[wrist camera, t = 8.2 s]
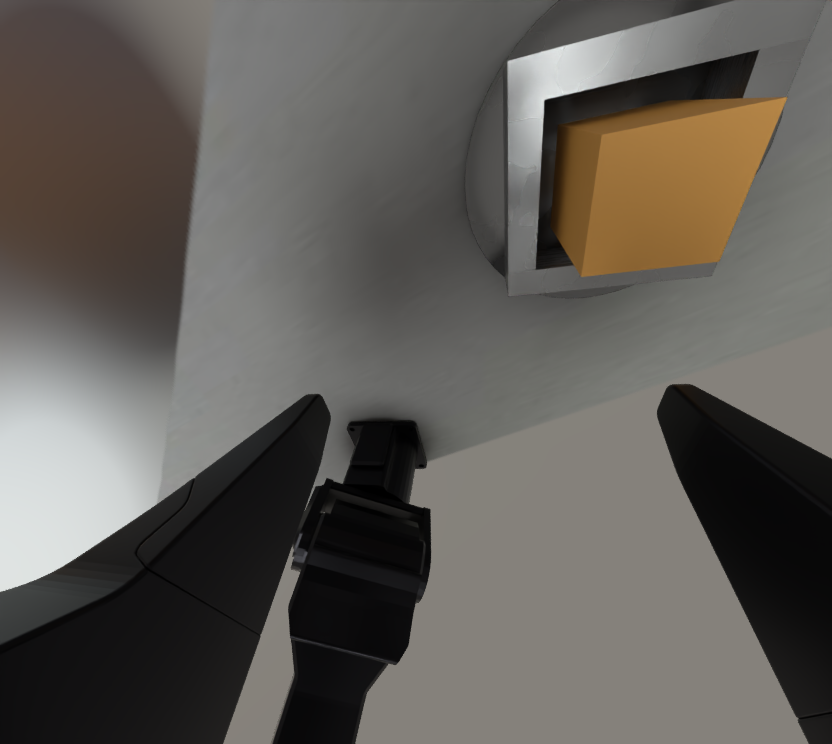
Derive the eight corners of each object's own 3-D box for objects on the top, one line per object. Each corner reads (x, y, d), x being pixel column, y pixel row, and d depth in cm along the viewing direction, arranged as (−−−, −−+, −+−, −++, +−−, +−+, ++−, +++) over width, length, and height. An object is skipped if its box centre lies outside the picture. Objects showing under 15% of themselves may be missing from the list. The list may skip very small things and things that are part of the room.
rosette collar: (703, 278, 17) (743, 309, 14) (474, 301, 19) (473, 330, 17) (857, -107, 9) (997, -185, 7) (451, 18, 12) (445, -5, 10)
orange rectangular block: (642, 213, 14) (718, 261, 10) (550, 226, 15) (581, 277, 11) (669, 100, 12) (787, 97, 7) (557, 124, 13) (602, 134, 8)
